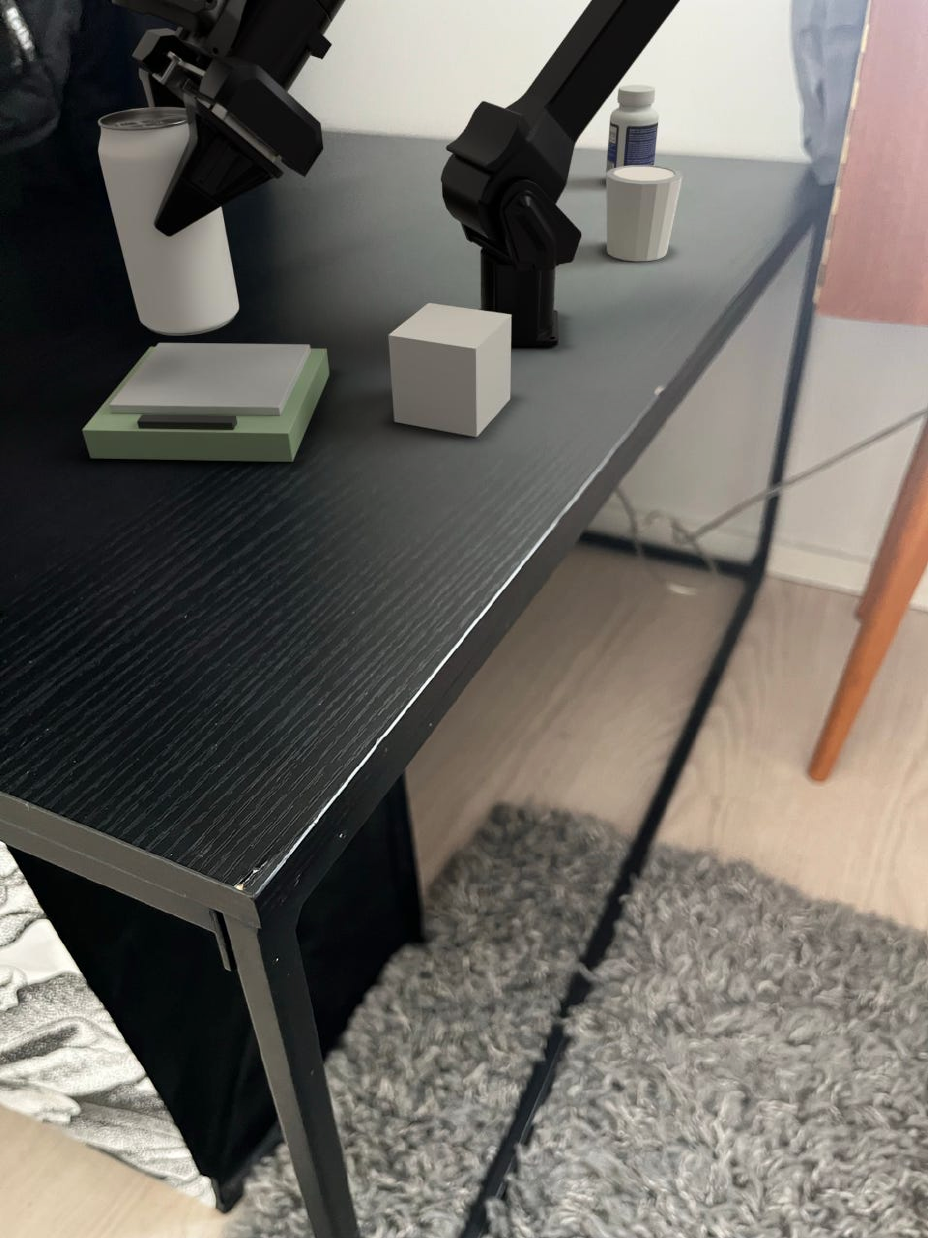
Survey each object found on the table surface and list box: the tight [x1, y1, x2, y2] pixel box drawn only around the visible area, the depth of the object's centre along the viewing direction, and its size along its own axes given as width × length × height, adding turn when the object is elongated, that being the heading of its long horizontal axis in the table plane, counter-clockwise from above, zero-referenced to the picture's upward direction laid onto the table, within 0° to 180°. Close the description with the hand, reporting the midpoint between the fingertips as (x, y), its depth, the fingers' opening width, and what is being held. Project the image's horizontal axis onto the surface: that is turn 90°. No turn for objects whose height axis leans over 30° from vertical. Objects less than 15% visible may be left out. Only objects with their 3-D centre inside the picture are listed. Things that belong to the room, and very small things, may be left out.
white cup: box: [605, 165, 684, 262], centre depth 87 cm, size 7×7×7 cm
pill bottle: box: [605, 84, 660, 174], centre depth 106 cm, size 5×5×10 cm
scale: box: [81, 342, 330, 463], centre depth 63 cm, size 13×13×3 cm
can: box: [97, 107, 240, 337], centre depth 58 cm, size 6×6×12 cm
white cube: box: [387, 302, 512, 438], centre depth 62 cm, size 6×6×6 cm
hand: (146, 217), depth 58 cm, fingers closed on can, 6 cm apart
